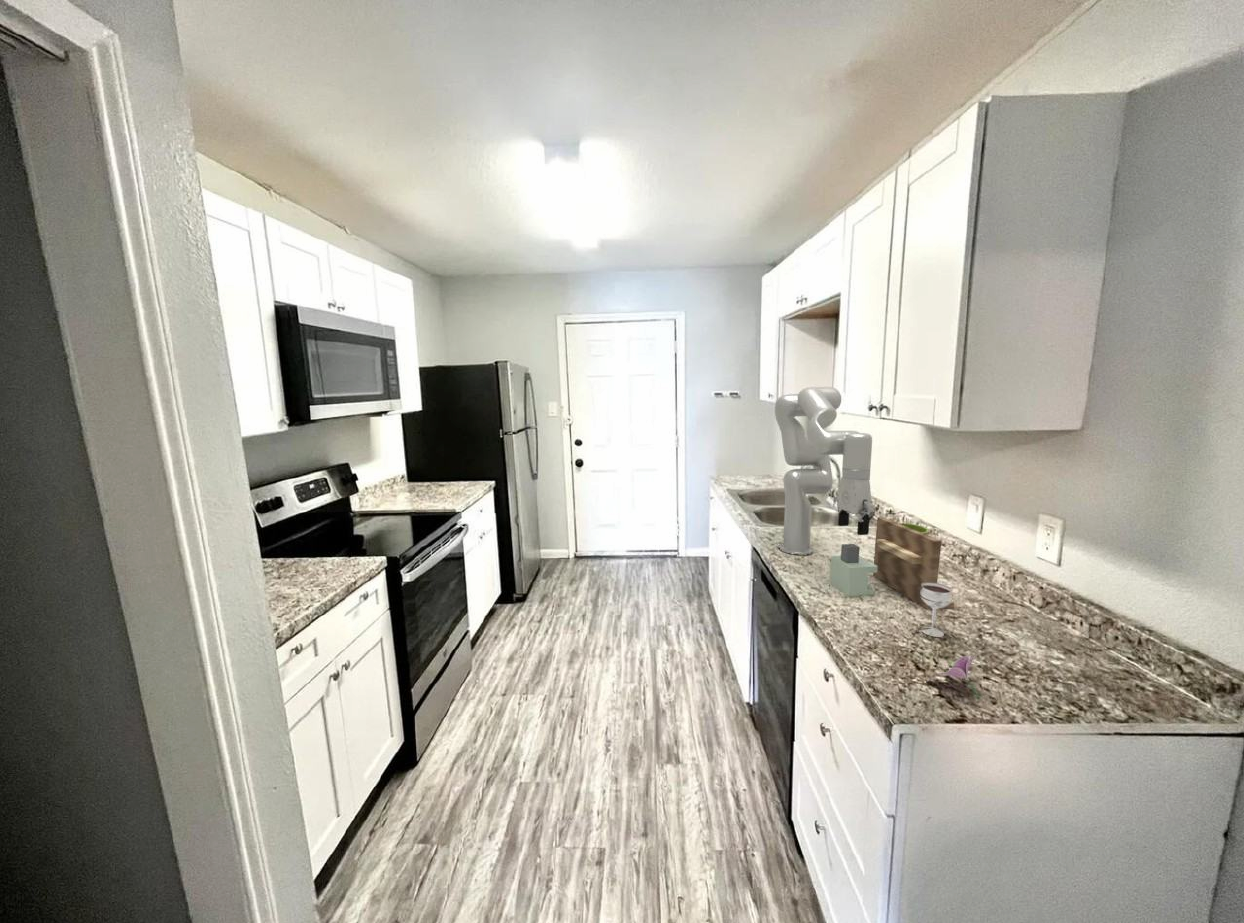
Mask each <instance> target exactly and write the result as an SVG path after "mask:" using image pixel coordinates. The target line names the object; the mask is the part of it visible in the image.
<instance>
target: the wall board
mask: <svg viewBox="0 0 1244 923" xmlns="http://www.w3.org/2000/svg"><path fill="white" fill-rule="evenodd" d="M876 520H877V521H876V531H875V544H874V556H873V564H874V565H876V566H878V568H877V573H872V577H874V578H876V579H877V580H878V581H880V582H881V583H884V584H885V585H887V586H889V587H890V588H892V589H893V588H894V589H893V590H895V589H896V590H895V591H896V592H898V591H899V593H900V594H901V595H904V596H905V597H906V598H909V599H910V600H912V601H913V602H914V603H916V604H918V605H920V606H921V607H922V608H924V609H927V610H933V609H932V608H931V606H929V605H927V604H926V603H925V602H924V601H923V600H922V599H921V596H920V590H921V589H922V586H921V584H922V583H924V582H934V583H938V579H939V577H938V576H939V569H940V568H939V567H940V559H941V548H942V540H940V539H938V538H935V537H933V536H930V535H928V534H926V535H925V534H923V533H921V532H918V531H916V530H913V529H911V528H908V527H906V526H903V525H901V524H898V523H899V522H895V521H894V520H891V519H888V518H886V517H883V516H882V517H880V516H879V517H877V519H876ZM954 608H955V602H953V600H952V601H951V603H950V604H949V605H948V606H946V607H944V608H938V609H937V610H940V609H941V610H943V609H954Z"/></svg>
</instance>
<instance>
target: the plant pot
mask: <svg viewBox="0 0 1244 923" xmlns="http://www.w3.org/2000/svg"><path fill="white" fill-rule="evenodd" d="M897 523H898V524H901V525H903V526H906V527H908V528H911V529H913V530H916V531H918V532H921V533H923V534H925V535H927V534H928V533H929V529H928V528H927V527H925V526H922V525H918V524H915V523H906V522H897Z"/></svg>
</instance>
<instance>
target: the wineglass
mask: <svg viewBox="0 0 1244 923" xmlns="http://www.w3.org/2000/svg"><path fill="white" fill-rule="evenodd" d="M921 586H922V589H921V590H920V596H921V599H922V600H923V601H924V602H925V603H926V604H927V605H929V606H931V608H932V609H931V610H932V612H931V614H932V616H931V626H923V627H921V628H920V631H921V632H922V633H924V634H925V635H928V636H931V637H934V638H941V637H943V636H945V635H944V634H945V633H944V632H943V631H941V630H940V629H937V628H935V627H934V626H935V620H936V615H937V614H936V613H937V610H939V609H938V608H944V607H946V606H948V605H949V604H950V603H951V601H952V602H953V595H952V593H953V588H951V587H950V586H949V585H946V584H943V583H939V582H937V583H934V582H924V583H922V584H921ZM944 609H945V608H944Z"/></svg>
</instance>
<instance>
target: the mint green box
mask: <svg viewBox="0 0 1244 923" xmlns="http://www.w3.org/2000/svg"><path fill="white" fill-rule="evenodd" d="M860 548H861V547H860V546H859V545H856V544H855V543H844V544H841V548H840V555H831V556H830V570H829V571H830V572H829V584H831V585H832V586H834V587H835V588H836V589H838V590H839V591H840V592H841V591H842V594H844V595H846V596H847V597H859V595H862V596H875V595H876V592H877V591H876V589H875V588H874V587H872V586H870V585H869V584H868V582H869V574H873V573H877V568H878V566H876V565H874V562H871V561H869V560H868V559H866V558H864V557H862V556H861V555H860Z"/></svg>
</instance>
